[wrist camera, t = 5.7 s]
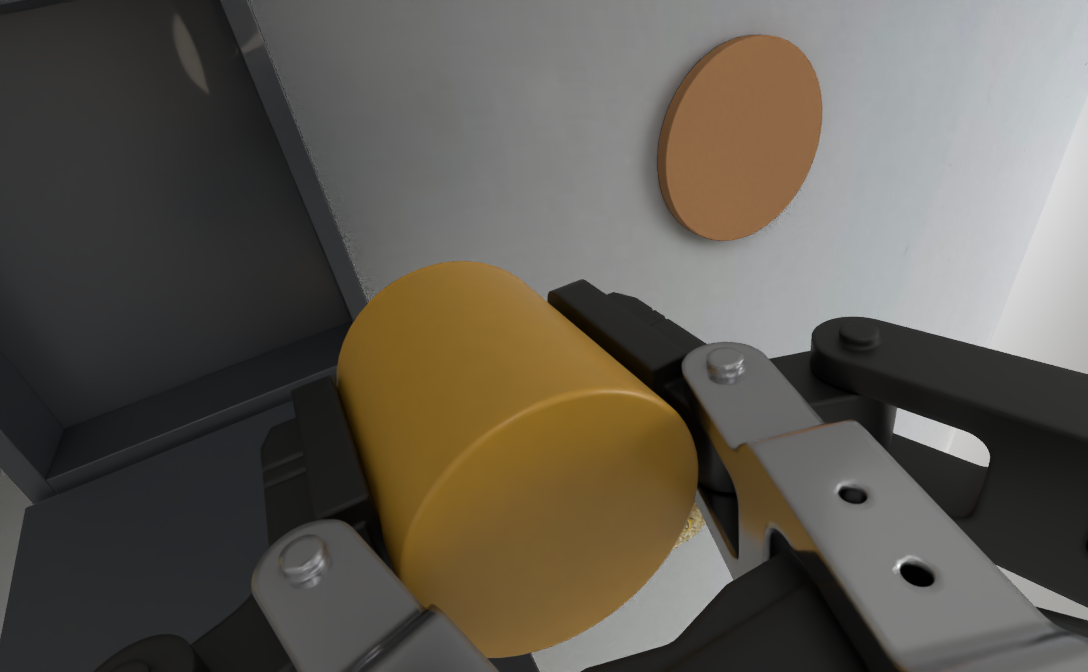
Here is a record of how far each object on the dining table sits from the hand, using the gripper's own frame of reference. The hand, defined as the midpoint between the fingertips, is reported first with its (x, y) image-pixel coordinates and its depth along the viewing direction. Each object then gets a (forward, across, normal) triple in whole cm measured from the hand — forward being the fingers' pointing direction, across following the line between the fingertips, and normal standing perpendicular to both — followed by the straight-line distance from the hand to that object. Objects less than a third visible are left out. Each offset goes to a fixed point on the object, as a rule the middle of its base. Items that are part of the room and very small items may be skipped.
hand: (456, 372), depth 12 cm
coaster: (+18, -22, +4) cm, 28 cm away
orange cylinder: (0, 0, 0) cm, 0 cm away
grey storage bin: (+17, +7, -1) cm, 19 cm away
